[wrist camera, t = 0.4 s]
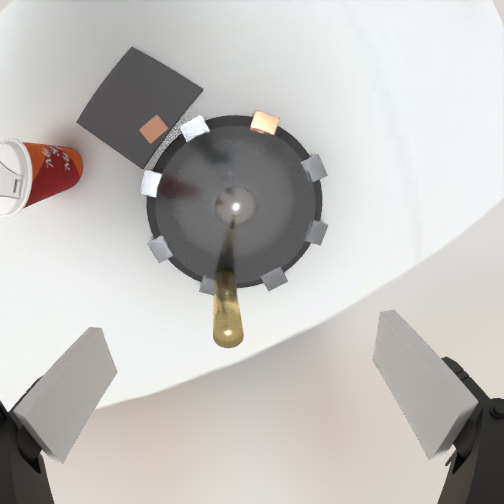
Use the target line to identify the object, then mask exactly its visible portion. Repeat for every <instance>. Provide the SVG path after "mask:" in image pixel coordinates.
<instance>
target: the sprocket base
mask: <svg viewBox="0 0 504 504" xmlns="http://www.w3.org/2000/svg"><path fill="white" fill-rule="evenodd" d="M252 119H253V117H249V116H238V115H234V116H222V117H217V118H212V119H209V120H206V121H205V123H206V125H207V127H208V129H209V130H212V129H215V128H220V127H225V126H248V127H250V125H251V122H252ZM274 135H275V136H277V137H279V138H280V139H282V140H283V141H284V142H286V143H287V144H288V145H289V146H290V147H291V148H292V149H294V150H295V151H296V153H297V154H298V155H299V156H300V158H301V159H302V160H304V159H306V158H308V157H310V156H309V154H308V153H307V151H306V150H305V149H304V148H303V146H302V145H301V144H300V143H299V142H298V141H297V140H296V139H295V138H294V137H293V136H292V135H290V134H289V133H288V132H286V131H285V130H283V129H282V128H280V127H278V126H277V127H276V130H275V133H274ZM185 143H187V141H186V139H185V137H184V135H183V133H182V134H180V135H179V136H178V137H177V138H176V139H175V140H174V141H173V142H171V143H170V145H169V146H168V147H167V148H166V149H165V151H164V152H163V153H162V155H161V156H160V158H159V160H158V161H157V163H156V165H155V167H154V170H153V171H156V172H160V173H163V171H164V169H165V167H166V165H167V164H168V162H169V161H170V159H171V158H172V157H173V156H174V154H175V153H176V152H177V151H178V150H179V149H180V148H181V147H182V146H183V145H184V144H185ZM313 186H314V191H315V216H314V219H315V220H318V221H320V218H321V212H322V190H321V183H320V179H319V180H317V181H315V182H313ZM155 199H156V197H152V196H148V195H147V214H148V221H149V224H150V228H151V231H152V234H153V236H154V238H156V237H158V236H159V235H161V233H160V231H159V227H158V224H157V219H156V211H155ZM310 244H311V242H307V241H305V243H304V245H303V247H302V248H301V249H300V251H299V252H298V253H297V255H296V256H295V257H294V258H293V259H292V260H291V261H290V262H289V263H287V264H286V265H285V266H284V267H282V268H281V269H282V271H283V273H284V272H285V271H287V270H288V269H289V268H290V267H292V266H293V265H294V264H295V263H296V262H297V261H298V260H299V259H300V258H301V257H302V256H303V254H304V253H305V251H306V250H307V249H308V247H309V246H310ZM168 260H169V261H170V262H171V263H172V264H173V265H174V266H175V267H176V268H178V269H179V270H180V271H182V272H183V273H184V274H186V275H188V276H189V277H191V278H193V279H195V280H197V281H200V282H202V278H203V277H202V276H200V275H198V274H196V273H194V272H193V271H191V270H189V269H188V268H187V267H185V266H184V265H183V264H182V263H181V262H179V261H178V260H177V259H176V258H175V256H174V255H173V256H171V257H169V258H168ZM262 283H264V282H263V280H262V278H261V279H258V280H255V281H250V282H244V283H236V288H244V287H250V286H255V285H259V284H262Z"/></svg>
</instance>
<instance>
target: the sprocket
mask: <svg viewBox="0 0 504 504" xmlns="http://www.w3.org/2000/svg"><path fill="white" fill-rule="evenodd" d="M279 119H280V118H277V117H274V116H271V115H269V114H266V113H263V112H260V111H257V110H256V112H255V114H254V117H253V119H252V122H251V125H250V127H248V126H225V127H220V128H215V129H212V130H209V129H208V127H207V125H206V123H205V121H204V119H203V117H202V116H201V115H200V116H198V117H196V118H194V119H192V120H190V121H188V122H187V123H185V124H183V125H181V126H179V128H180V130H181V132H182V133H183V135H184V137H185V139H186V141H187V143H185V144H184V145H183V146H182V147H181V148H180V149H179V150H178V151H177V152H176V153H175V154H174V156H173V157H172V158H171V159H170V161H169V162H168V164H167V165H166V167H165V169H164V171H163V173H160V172H156V171H152V170H145V172H144V176H143V180H142V184H141V188H140V192H139V193H141V194H144V195H148V196H152V197H156V199H155V211H156V219H157V224H158V227H159V231H160V233H161V235H159V236H158V237H156V238H154V239H153V240H151V241H149V243H148V246H149V247H150V249H151V251H152V252H153V254H154V255H155V257H156V258H157V260H158V262H159V263H160V262H162V261H164V260H166V259H168V258H169V257H171V256H173V255H174V256H175V258H176V259H177V260H178V261H179V262H181V263H182V264H183V265H184V266H185V267H187V268H188V269H189V270H191V271H193V272H194V273H196V274H198V275H200V276H202V277H203V278H202V282H201V285H200V290H199V292H203V293H207V294H211V295H214V313H213V338H214V341H215V342H216V344H217V345H219V346H221V347H224V348H233V347H236V346H238V345H239V344H240V343H241V342H242V340H243V337H244V335H243V328H242V322H241V315H240V309H239V302H238V295H237V288H236V283H244V282H250V281H255V280H258V279H261V278H262V280H263V282H264V284H265V286H266V288H267V289H268V291H270V290H272V289H274V288H276V287H278V286H280V285H282V284H284V283H286V282H288V281H287V279H286V277H285V275H284V273H283V271H282V269H281V268H282V267H284V266H285V265H286V264H287V263H289V262H290V261H291V260H292V259H293V258H294V257H295V256H296V255H297V253H298V252H299V251H300V249H301V248H302V247H303V245H304V243H305V241H307V242H311V243H314V244H317V245H321V243H322V240H323V238H324V235H325V233H326V230H327V227H328V225H327V224H326V223H324V222H321V221H318V220H315V219H314V216H315V191H314V186H313V182H315V181H317V180H319V179H321V178H323V177H325V176H327V173H326V171H325V168H324V166H323V164H322V162H321V159H320V157H319V155H318V154H315V155H312V156H310V157H308V158H306V159H304V160H302V159H301V158H300V156H299V155H298V154H297V153H296V151H295V150H294V149H292V148H291V147H290V146H289V145H288V144H287V143H286V142H284V141H283V140H282V139H280V138H279V137H277V136H275V135H274V133H275V130H276V127H277V125H278V122H279Z"/></svg>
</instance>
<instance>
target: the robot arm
mask: <svg viewBox="0 0 504 504" xmlns="http://www.w3.org/2000/svg"><path fill="white" fill-rule="evenodd" d="M373 362H374V363H375V365H376V367H377V369H378V370H379V372H380V373H381V375H382V377H383V379H384V380H385V382H386V384H387V385H388V387H389V389H390V390H391V392H392V394H393V396H394V397H395V399H396V401H397V403H398V404H399V406H400V408H401V409H402V411H403V413H404V415H405V417H406V418H407V420H408V422H409V424H410V426H411V427H412V429H413V431H414V433H415V435H416V437H417V438H418V440H419V442H420V444H421V446H422V448H423V450H424V452H425V454H426V456H427V457H428V459H429V461H430V460H433V459H435V458H437V457H439V456H442V455H444V454H446V453H447V451H448V450H449V449H450V447H451V446H452V444H454V446H455V447H456V450H455V452H454V453H453V454H452V456H451V457H450V458H449V460H448V461H447V462H446V464H445V466H448V464H449V463H450V462H451V465H450V468H449V472H448V475H447V478H446V481H445V484H444V487H443V490H442V492H441V495H440V498H439V501H438V504H504V399H501V398H493V399H490V398H489V397H488V396H487V395H486V394H485V393H484V391H483V390H482V389H481V388H480V387H479V386H478V385H477V384H476V383H475V382H474V380H473V379H472V378H470V377H469V375H468V374H467V373H466V372H465V371H464V370H463V368H462V367H461V366H460V365H459V364H458V363H457V362H455V361H454V360H452V359H450V358H448V357H444V358H440V357H439V356H438V355H437V354H436V353H435V351H434V350H432V348H431V347H430V346H429V345H428V344H427V343H426V342H425V341H424V340H423V339H422V338H421V337H420V336H419V335H418V333H416V331H415V330H414V329H413V328H412V327H411V326H410V325H409V324H408V323H407V322H406V321H405V320H404V319H403V318H402V317H401V316H400V315H399V314H398V313H397V312H396V311H395V310H390V311H385V312H380V317H379V325H378V331H377V338H376V344H375V350H374V355H373ZM116 374H117V370H116V367H115V365H114V362H113V360H112V357H111V354H110V352H109V349H108V346H107V343H106V340H105V338H104V335H103V332H102V329H101V328H94V327H89V328H88V329H87V330H86V331H85V332H84V333H83V334H82V335H81V336H80V337H79V338H78V339H77V340H76V341H75V343H74V344H73V345H72V346H71V347H70V348H69V349H68V350H67V351H66V352H65V353H64V354H63V355H62V356H61V357H60V358H59V359H58V360H57V361H56V362H55V364H54V365H53V366H52V367H51V368H50V369H49V370H48V371H47V372H46V373H45V374H44V375H43V376H42V377H40V378H39V379H37V380H36V381H35V382H34V383H33V385H32V386H31V388H29V389H28V390H27V391H26V393H25V394H24V395H23V396H22V397H21V398H20V399H19V401H18V402H17V403H16V404H15V405H14V406H13V408H12V409H11V410H10V411H9V412H7V410H6V409H5V407H4V406H3V404H2V402H1V401H0V504H54V501H53V497H52V494H51V490H50V486H49V482H48V478H47V474H46V469H45V464H44V460H43V457H42V455H41V454H40V452H41V450H43V451H44V452H45V453H46V454H47V455H48V457H49V458H51V459H53V460H55V461H57V462H60V463H62V464H63V463H64V461H65V459H66V457H67V455H68V454H69V452H70V450H71V448H72V447H73V445H74V443H75V441H76V440H77V438H78V436H79V434H80V433H81V431H82V429H83V427H84V426H85V424H86V422H87V421H88V419H89V417H90V416H91V414H92V412H93V411H94V409H95V407H96V406H97V404H98V402H99V401H100V399H101V398H102V396H103V394H104V393H105V391H106V390H107V388H108V386H109V385H110V383H111V382H112V380H113V378H114V377H115V375H116Z"/></svg>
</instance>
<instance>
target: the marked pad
mask: <svg viewBox="0 0 504 504" xmlns="http://www.w3.org/2000/svg"><path fill="white" fill-rule="evenodd" d="M202 91H203V89H202V88H201V87H199V86H198V85H196V84H194V83H193V82H191V81H190V80H188V79H187V78H185V77H183V76H182V75H180V74H179V73H177V72H175V71H174V70H172V69H170V68H169V67H167V66H165V65H164V64H162V63H160V62H158V61H157V60H155V59H153V58H151V57H150V56H148V55H146V54H144V53H142V52H141V51H139V50H137V49H135V48H133V47H131V48H130V49H129V50H128V52H127V53H126V54H125V55H124V56H123V57H122V59H121V60H120V61H119V62H118V63H117V65H116V66H115V67H114V68H113V70H112V71H111V72H110V74H109V75H108V76H107V78H106V79H105V80H104V82H103V83H102V84H101V86H100V87H99V88H98V90H97V91H96V93H95V94H94V95H93V97H92V98H91V100H90V101H89V103H88V104H87V106H86V107H85V109H84V111H83V112H82V114H81V115H80V117H79V119H78V120H77V123H78V124H79V125H81V126H82V127H84V128H85V129H87V130H88V131H89V132H91V133H92V134H94V135H95V136H96V137H98V138H99V139H101V140H102V141H103V142H105V143H106V144H108V145H109V146H111V147H112V148H113V149H115V150H116V151H118V152H119V153H120V154H122V155H123V156H125V157H126V158H127V159H129V160H130V161H132V162H133V163H135V164H136V165H137V166H139V167H140V168H142V169H144V167H145V166H146V164H147V163H148V161H149V160H150V158H151V157H152V155H153V154H154V152H155V151H156V150H157V148H158V147H159V145H160V144H161V143H162V141H163V140H164V139H165V137H166V136H167V134H168V133H169V132H170V130H171V129H172V128H173V127H174V125H175V124H176V123H177V121H178V120H179V119H180V118H181V116H182V115H183V114H184V113H185V111H186V110H187V109H188V108H189V106H190V105H191V104H192V103H193V102H194V100H195V99H196V98H197V97H198V96H199V95H200V93H201V92H202Z"/></svg>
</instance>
